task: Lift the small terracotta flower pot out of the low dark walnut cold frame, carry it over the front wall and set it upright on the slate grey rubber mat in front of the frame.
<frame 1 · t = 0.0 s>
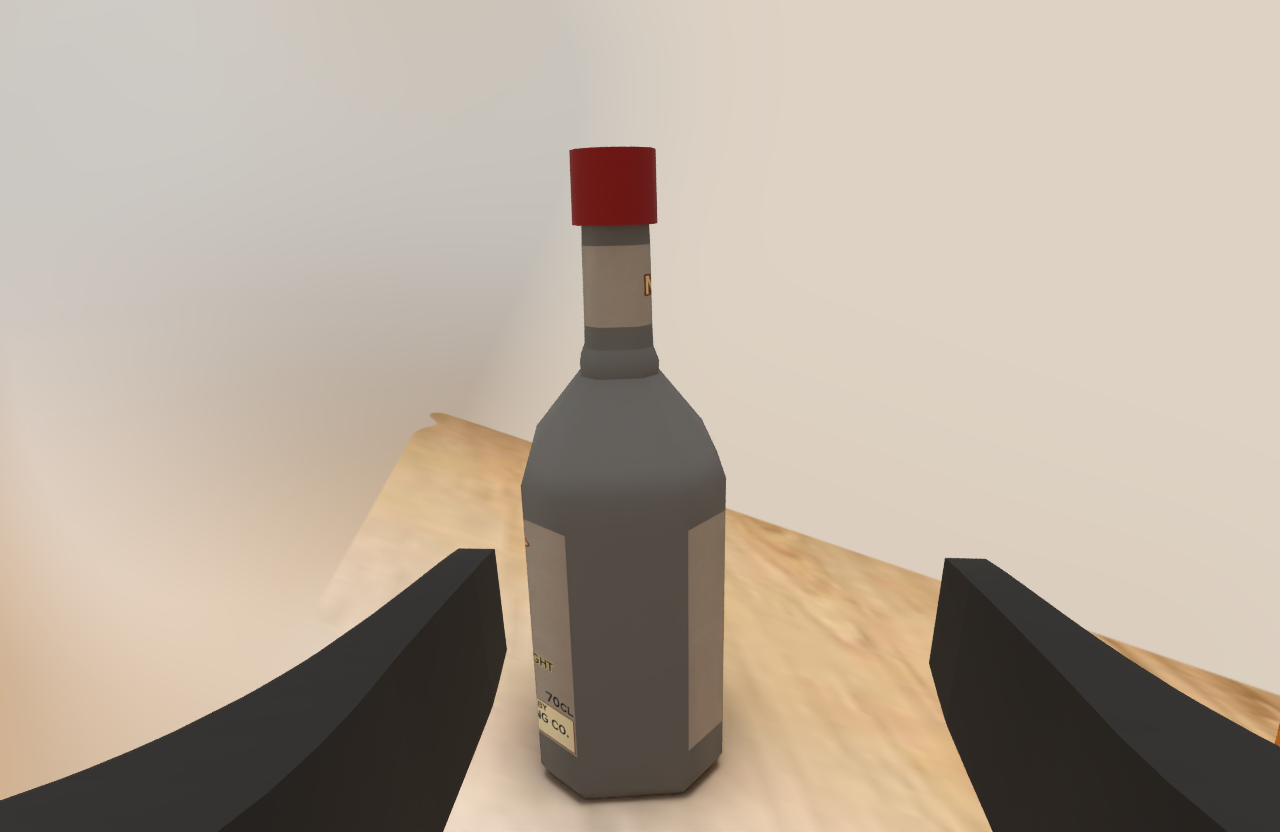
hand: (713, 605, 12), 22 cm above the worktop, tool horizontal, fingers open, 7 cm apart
liquor: (630, 738, 39), on the worktop
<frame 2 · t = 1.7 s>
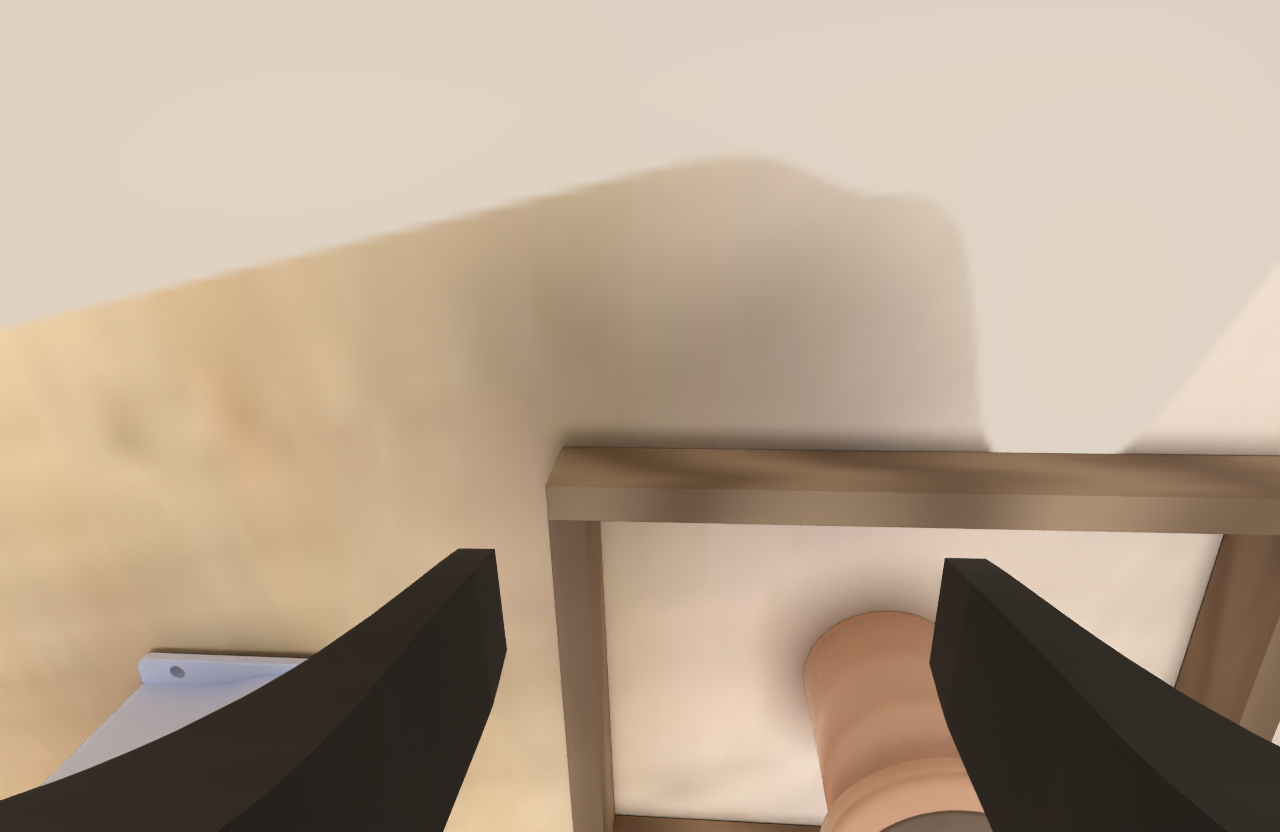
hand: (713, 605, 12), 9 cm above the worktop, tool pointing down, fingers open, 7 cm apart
terracotta pot: (882, 674, 23), resting in cold frame
cold frame: (882, 675, 23), on the worktop
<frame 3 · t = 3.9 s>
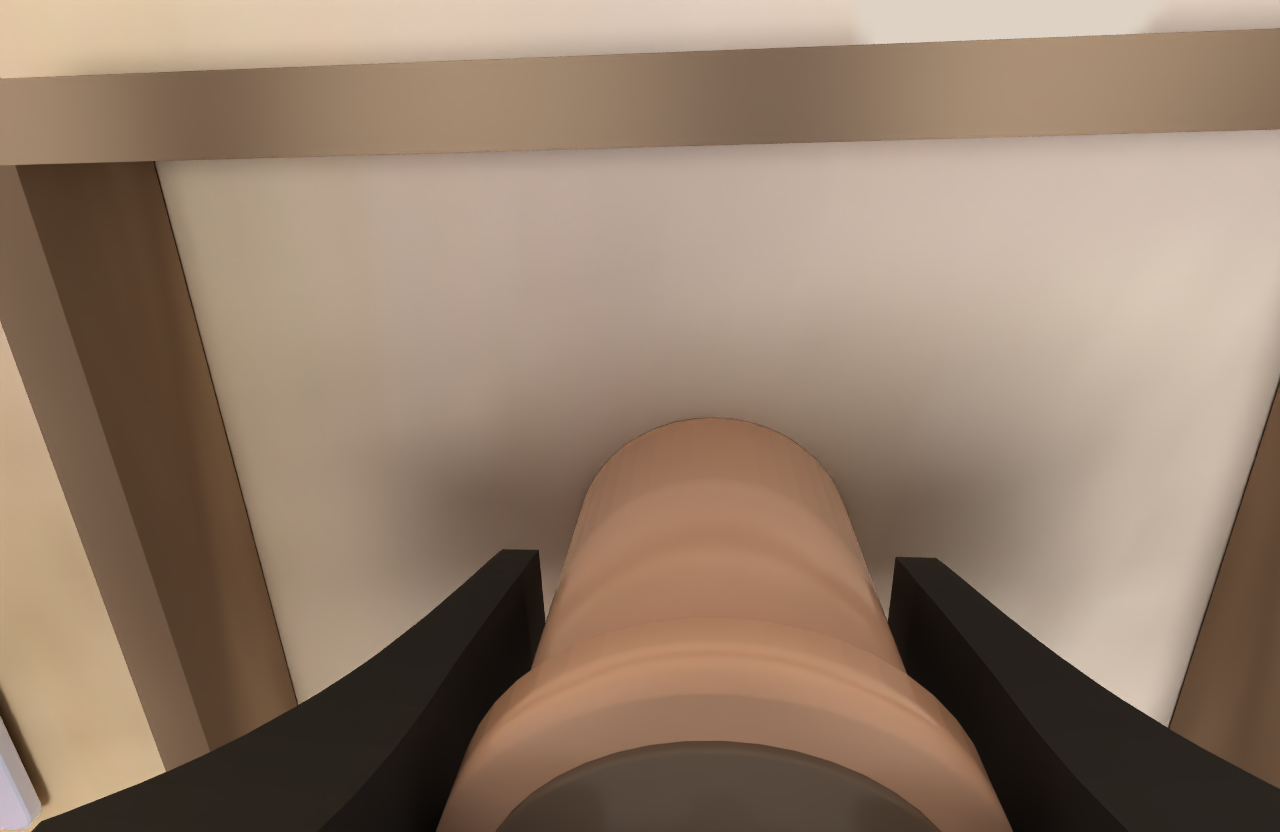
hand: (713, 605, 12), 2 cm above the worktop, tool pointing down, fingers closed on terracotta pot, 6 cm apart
terracotta pot: (711, 541, 13), resting in cold frame, touching gripper
cold frame: (711, 542, 13), on the worktop
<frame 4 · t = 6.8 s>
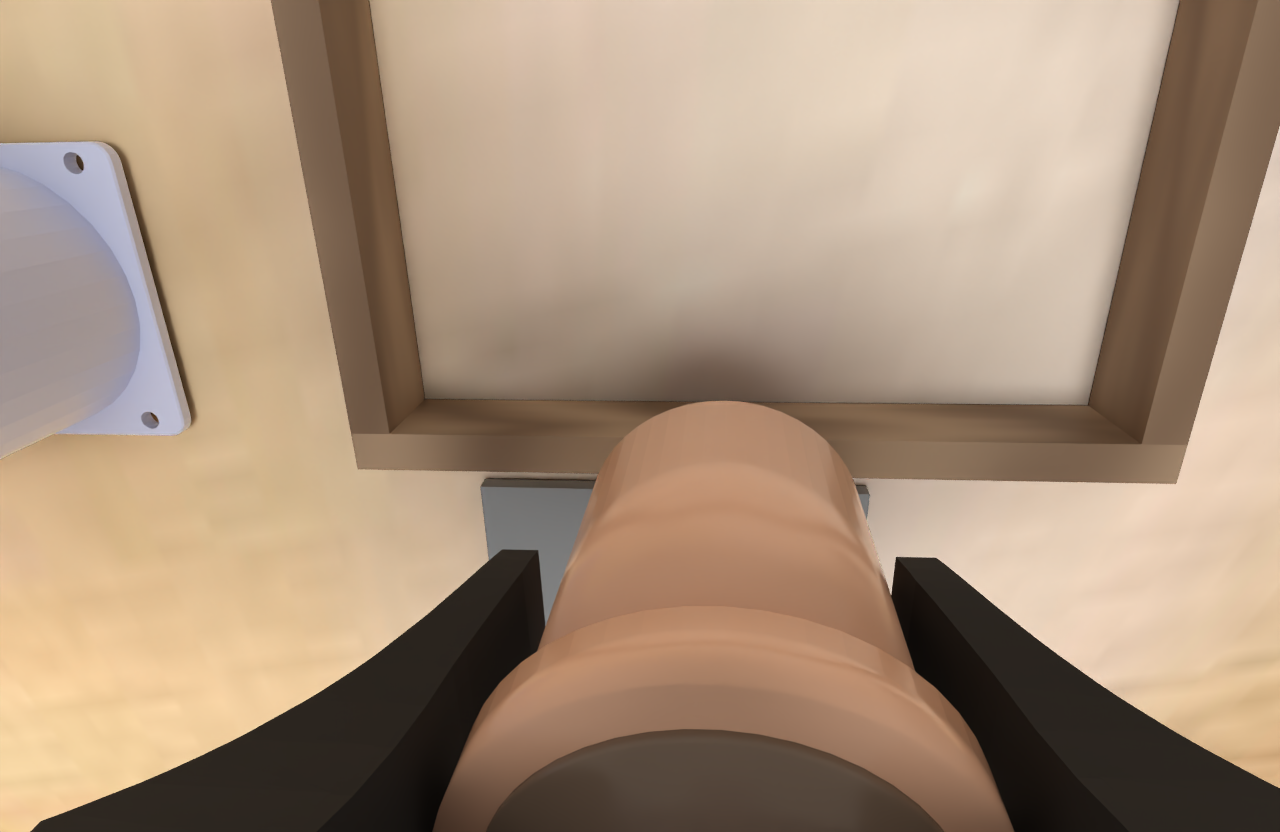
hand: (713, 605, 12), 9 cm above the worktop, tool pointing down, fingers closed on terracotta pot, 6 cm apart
terracotta pot: (722, 524, 13), point 7 cm above the worktop, touching gripper
potting mat: (672, 636, 23), on the worktop
cold frame: (753, 126, 17), on the worktop
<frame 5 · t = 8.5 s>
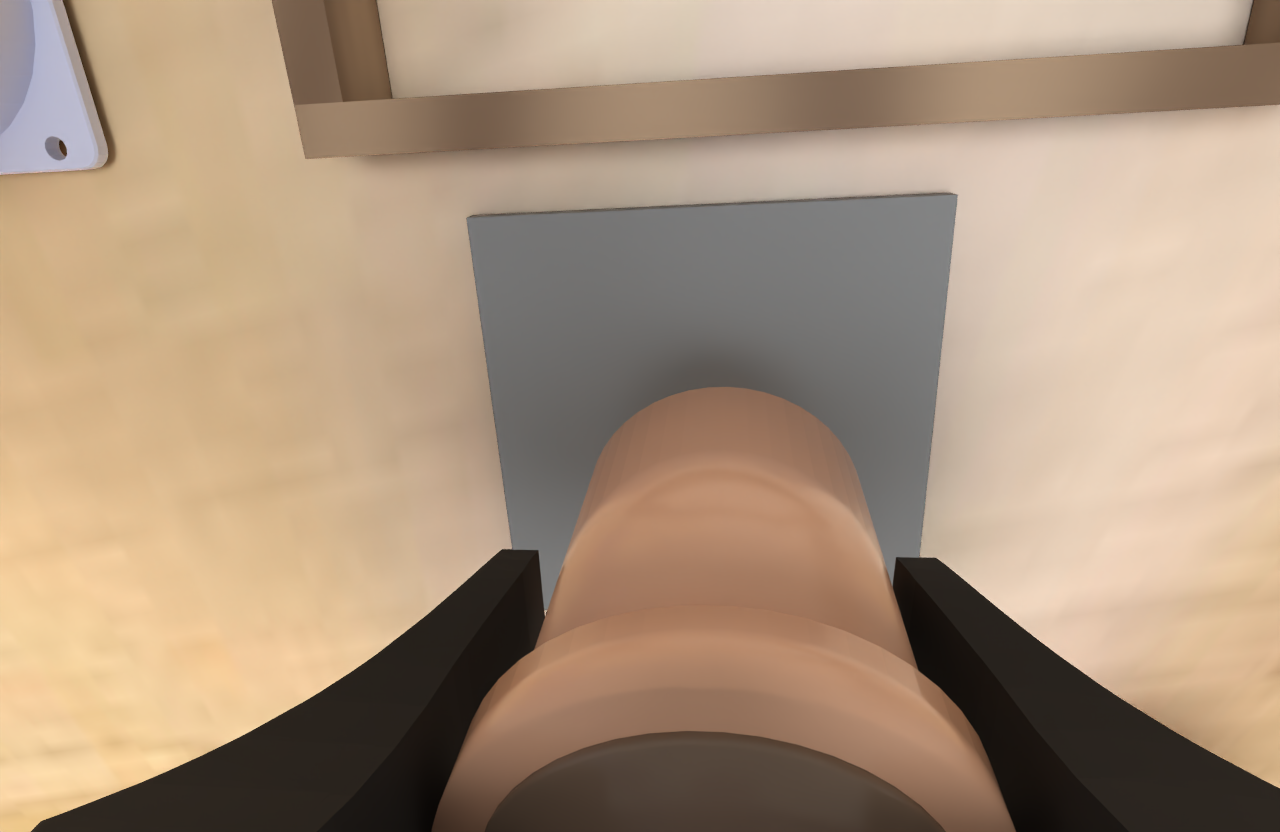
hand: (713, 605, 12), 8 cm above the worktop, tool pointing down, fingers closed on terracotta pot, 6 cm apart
terracotta pot: (722, 510, 13), point 6 cm above the worktop, touching gripper
potting mat: (708, 423, 19), on the worktop
when the fingers open (3 cm above the worktop, at t = 10.0 s): terracotta pot stays where it is, resting on potting mat.
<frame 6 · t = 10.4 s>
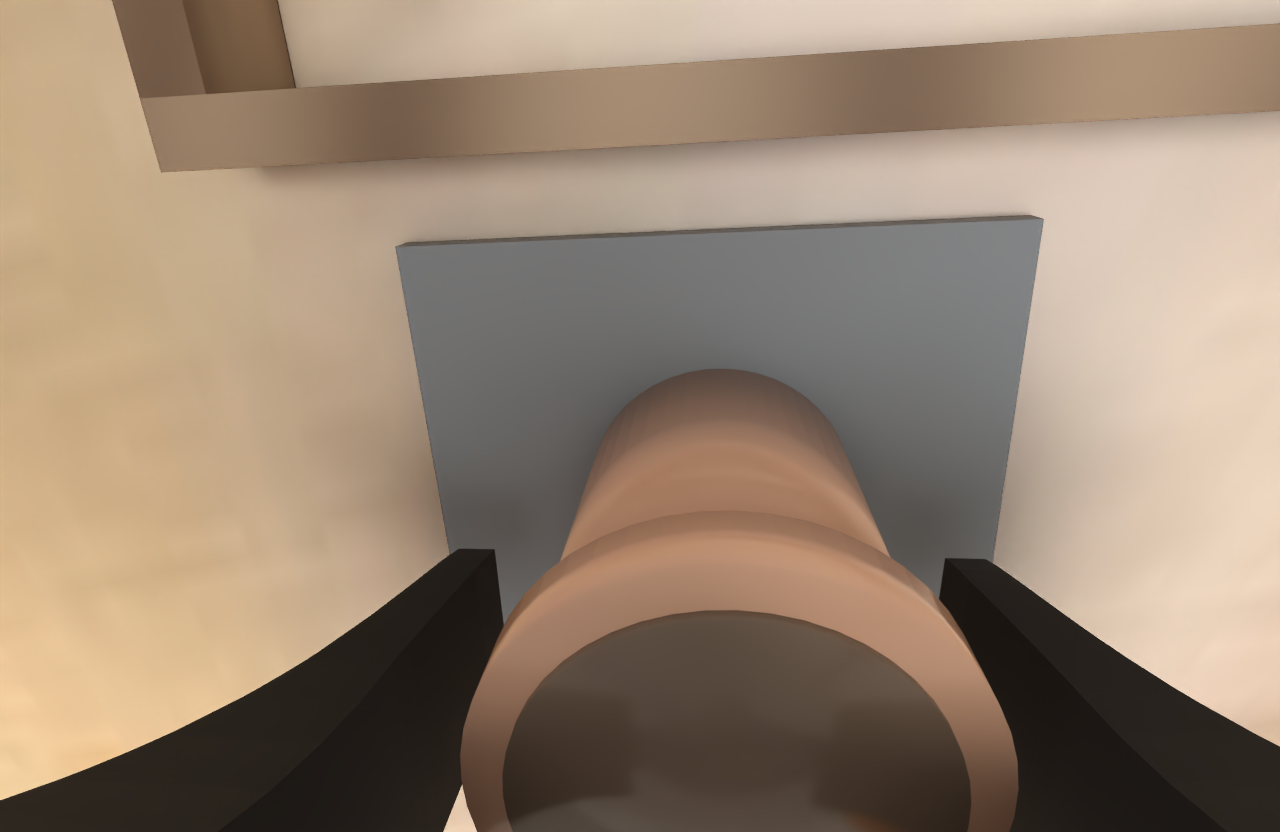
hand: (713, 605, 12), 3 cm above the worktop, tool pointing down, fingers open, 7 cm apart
terracotta pot: (718, 490, 14), point 1 cm above the worktop, touching potting mat
potting mat: (711, 503, 15), on the worktop
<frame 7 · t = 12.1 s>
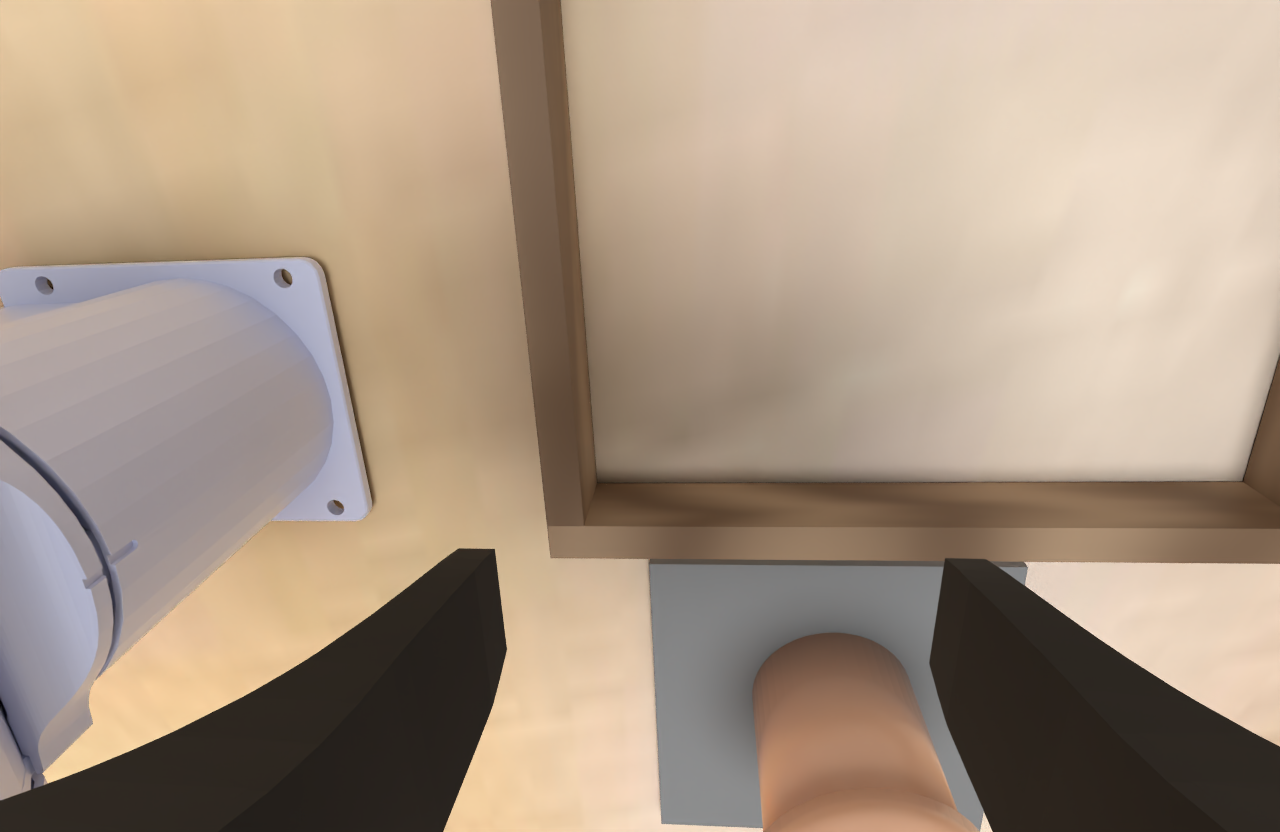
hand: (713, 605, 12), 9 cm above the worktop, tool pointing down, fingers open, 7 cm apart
terracotta pot: (830, 695, 23), resting on potting mat
potting mat: (822, 698, 24), on the worktop
cold frame: (932, 234, 18), on the worktop
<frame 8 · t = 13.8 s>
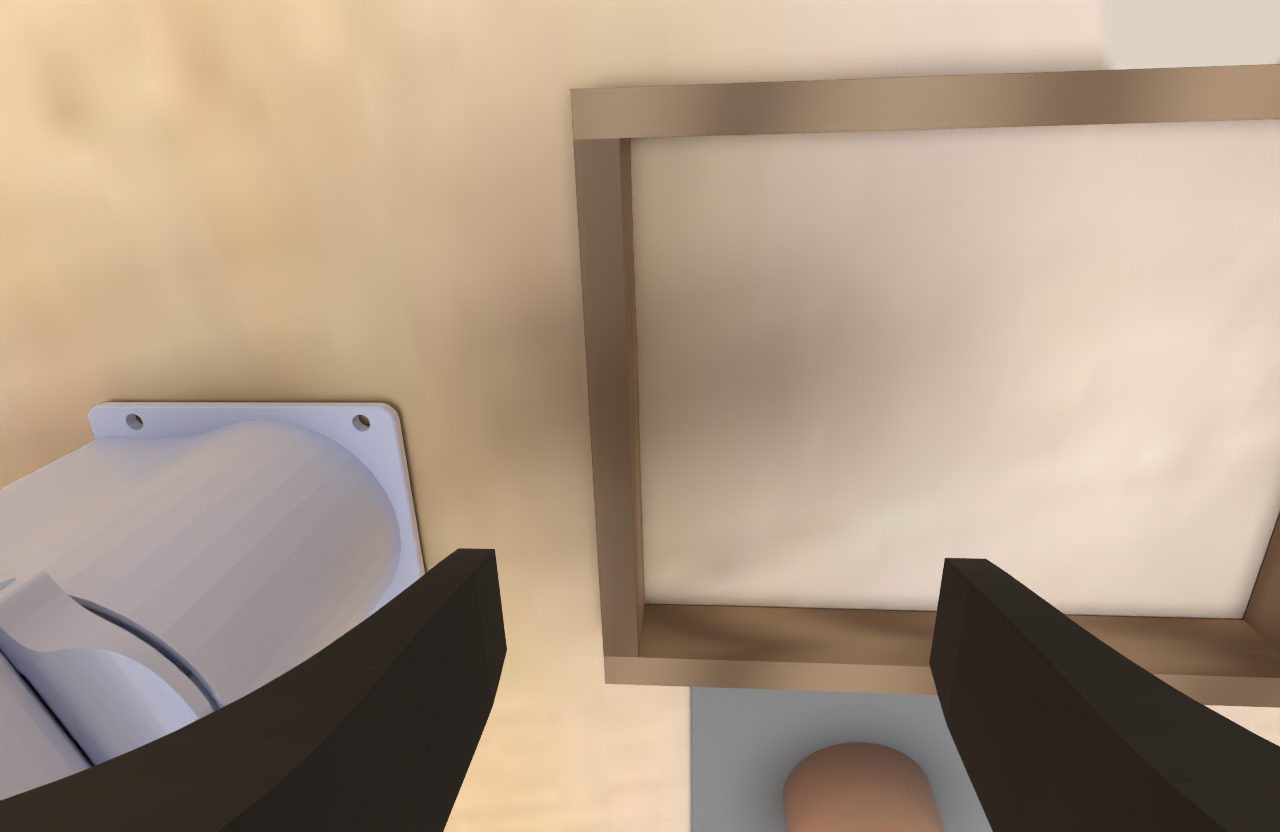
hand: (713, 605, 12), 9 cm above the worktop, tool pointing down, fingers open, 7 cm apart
terracotta pot: (856, 797, 25), resting on potting mat
potting mat: (847, 796, 26), on the worktop
cold frame: (965, 400, 20), on the worktop
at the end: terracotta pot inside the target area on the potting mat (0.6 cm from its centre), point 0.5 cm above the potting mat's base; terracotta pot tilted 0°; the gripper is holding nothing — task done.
